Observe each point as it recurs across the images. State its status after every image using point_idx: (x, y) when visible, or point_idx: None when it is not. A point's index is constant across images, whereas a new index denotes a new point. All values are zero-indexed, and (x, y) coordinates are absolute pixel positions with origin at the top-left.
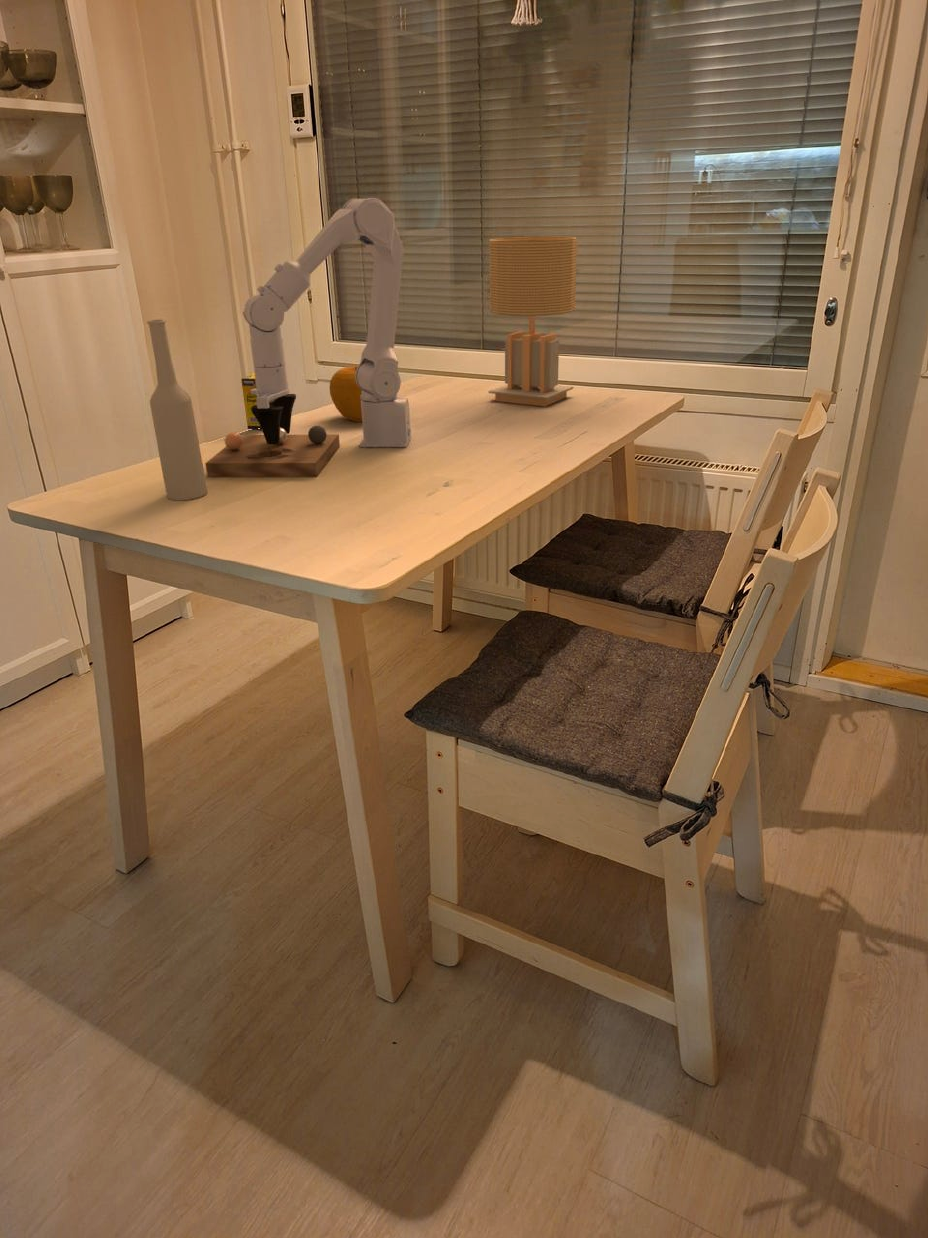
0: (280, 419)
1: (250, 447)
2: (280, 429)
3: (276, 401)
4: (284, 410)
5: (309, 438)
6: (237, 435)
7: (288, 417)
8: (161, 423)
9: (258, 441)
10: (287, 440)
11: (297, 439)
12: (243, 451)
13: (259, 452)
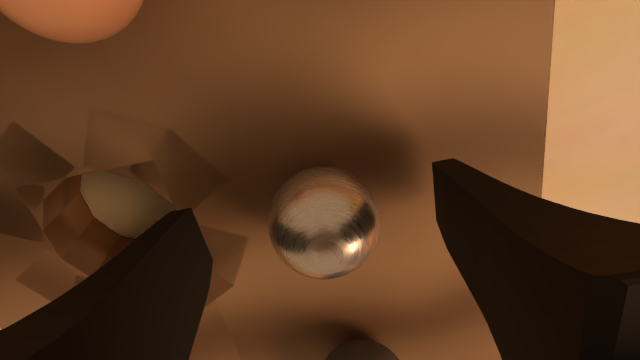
0: (473, 238)
1: (195, 53)
2: (307, 274)
3: (556, 357)
4: (507, 327)
5: (331, 356)
6: (42, 23)
7: (480, 302)
8: None
9: (355, 29)
10: (402, 201)
11: (428, 240)
12: (87, 57)
13: (114, 169)
